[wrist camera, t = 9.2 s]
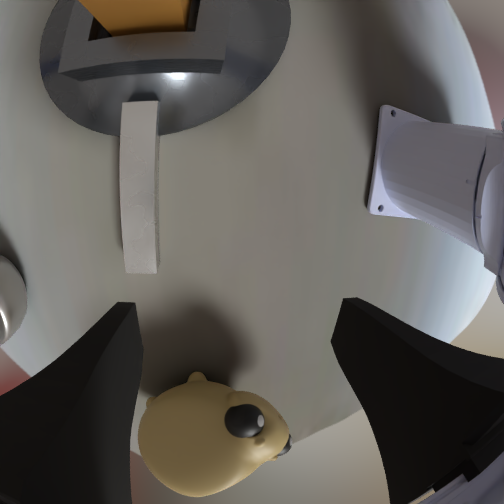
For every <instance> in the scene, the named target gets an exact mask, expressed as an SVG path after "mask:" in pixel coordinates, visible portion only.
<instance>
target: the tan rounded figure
mask: <svg viewBox="0 0 504 504" xmlns="http://www.w3.org/2000/svg"><path fill="white" fill-rule="evenodd" d="M146 406H147V409H146V410H145V412H144V414H143V416H142V418H141V421H140V424H139V429H138V444H139V449H140V453H141V455H142V458H143V460H144V462H145V463H146V465H147V467H148V468H149V469H150V471H151V472H152V473H153V475H154V476H155V477H156V478H157V479H158V480H159V481H161V482H162V483H163V484H164V485H165V486H167V487H168V488H170V489H172V490H174V491H175V492H178V493H180V494H183V495H186V496H191V497H201V496H207V495H210V494H214V493H217V492H219V491H222V490H224V489H226V488H228V487H230V486H232V485H234V484H236V483H238V482H239V481H241V480H243V479H244V478H246V477H247V476H248V475H250V474H251V473H252V472H253V471H254V470H255V469H257V468H258V467H259V466H260V465H261V464H263V463H264V462H265V461H267V460H270V461H274V460H276V459H277V458H278V457H277V456H281V455H283V454H285V453H287V452H288V451H289V450H290V448H291V446H292V438H291V435H290V434H289V428H288V426H287V424H286V422H285V420H284V419H283V417H282V416H281V415H280V413H279V412H278V411H277V410H276V409H275V408H274V407H273V406H272V405H271V404H270V403H269V402H268V401H266V400H265V399H263V398H262V397H260V396H258V395H256V394H254V393H250V392H245V391H235V390H234V389H232V388H230V387H228V386H226V385H223V384H220V383H216V382H210V381H207V379H206V377H205V375H204V374H203V373H201V372H193V373H192V374H191V375H190V376H189V378H188V381H187V383H185V384H182V385H179V386H176V387H173V388H171V389H169V390H167V391H165V392H163V393H162V394H160V395H159V396H158V397H150V398H149V399H148V400H147V402H146Z"/></svg>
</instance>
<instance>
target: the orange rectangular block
mask: <svg viewBox="0 0 504 504" xmlns="http://www.w3.org/2000/svg"><path fill="white" fill-rule="evenodd" d="M78 1H79V2H80V3H81V4H82V5H83V6H84V7H85V8H86V9H87V10H88V11H89V12H90V13H91V14H92V15H93V16H94V17H95V18H96V19H97V20H98V21H99V22H100V24H101V25H102V26H103V27H104V28H105V29H106V30H107V31H108V32H109V33H110V34H111V35H112V36H113V37H116V36H124V35H133V34H143V33H158V32H187V27H188V21H189V15H190V9H191V3H192V0H78Z"/></svg>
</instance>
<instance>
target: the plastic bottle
mask: <svg viewBox="0 0 504 504" xmlns="http://www.w3.org/2000/svg"><path fill="white" fill-rule="evenodd" d="M26 311H27V292H26V287H25V284H24V281H23V279H22V277H21V275H20V273H19V271H18V270H17V268H16V267H15V266H14V265H13V263H12V262H11V261H9V260H8V259H7V258H5V257H4V256H2V255H0V346H1V345H2V344H4V343H5V342H6V341H7V340H8V339H9V338H10V337H11V336H12V335H13V334H14V333H15V332H16V331H17V330H18V329H19V328H20V326H21V323H22V321H23V319H24V317H25V314H26Z"/></svg>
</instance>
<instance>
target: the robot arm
mask: <svg viewBox="0 0 504 504" xmlns="http://www.w3.org/2000/svg"><path fill="white" fill-rule="evenodd" d="M391 111H392V112H393V116H392V115H391ZM501 125H502V129H503V131H500V130H495V129H489V128H482V127H475V126H468V125H459V124H449V123H437V122H431V121H429V120H426V119H424V118H421V117H419V116H416V115H414V114H411V113H409V112H406V111H404V110H401V109H398V108H395V107H393V106H390V105H382V106H381V107H380V113H379V124H378V135H377V144H376V152H375V160H374V167H373V174H372V181H371V187H370V194H369V199H368V205H367V209H368V211H369V212H370V213H372V214H375V215H386V216H395V217H405V218H414V219H420V220H422V221H424V222H426V223H428V224H430V225H432V226H434V227H436V228H438V229H440V230H441V231H443V232H445V233H447V234H449V235H451V236H453V237H454V238H456V239H458V240H460V241H462V242H463V243H465V244H467V245H469V246H471V247H472V248H474V249H476V250H477V251H479V252H481V253H482V254H484V267H485V268H486V269H488V270H489V271H491V272H492V273H494V274H495V275H497V277H496V286H497V292H498V295H499V297H500V299H501V301H502V302H503V304H504V118H503V119H502V121H501ZM380 205H381V208H380V209H379V210H378V207H379V206H380ZM331 344H332V347H333V350H334V353H335V355H336V358H337V360H338V363H339V365H340V367H341V369H342V371H343V372H344V374H345V376H346V378H347V380H348V382H349V383H350V385H351V387H352V389H353V391H354V392H355V394H356V396H357V398H358V400H359V401H360V403H361V405H362V407H363V409H364V411H365V413H366V415H367V417H368V420H369V422H370V425H371V428H372V430H373V433H374V436H375V439H376V442H377V445H378V448H379V451H380V454H381V458H382V462H383V466H384V470H385V474H386V479H387V484H388V490H389V498H390V504H410V503H412V502H414V501H415V500H417V499H419V498H420V497H422V496H424V495H425V494H427V493H429V492H430V491H432V490H433V489H434V491H435V493H434V494H432V495H431V496H429V497H428V498H426V499H424V500H423V501H421V502H420V503H418V504H504V359H502V358H496V357H491V356H486V355H482V354H478V353H474V352H471V351H467V350H465V349H461V348H459V347H456V346H453V345H451V344H448V343H446V342H443V341H441V340H438V339H436V338H434V337H432V336H430V335H428V334H426V333H424V332H422V331H420V330H418V329H416V328H414V327H412V326H410V325H408V324H406V323H404V322H403V321H401V320H399V319H397V318H396V317H394V316H392V315H390V314H388V313H387V312H385V311H383V310H381V309H380V308H378V307H376V306H374V305H372V304H370V303H368V302H366V301H364V300H362V299H360V298H357V297H356V298H343V301H342V305H341V308H340V312H339V315H338V319H337V322H336V326H335V329H334V332H333V335H332V339H331ZM142 361H143V345H142V340H141V334H140V329H139V323H138V317H137V311H136V305H135V303H132V302H117V303H116V304H115V305H114V306H113V307H112V308H111V309H110V310H109V311H108V312H107V313H106V314H105V315H104V316H103V317H102V318H101V319H100V320H99V321H98V322H97V323H96V324H95V325H93V326H92V327H91V328H90V329H89V330H88V331H87V332H86V333H85V334H84V335H83V336H82V337H81V338H80V339H79V340H78V341H76V342H75V343H74V344H73V345H72V346H71V347H70V348H69V349H68V350H66V351H65V352H64V353H63V354H62V355H61V356H60V357H58V358H57V359H56V360H55V361H53V362H52V363H51V364H49V365H48V366H47V367H45V368H44V369H43V370H41V371H40V372H39V373H37V374H36V375H34V376H33V377H31V378H30V379H28V380H26V381H25V382H23V383H22V384H20V385H19V386H17V387H15V388H14V389H12V390H10V391H8V392H7V393H5V394H3V395H1V396H0V504H132V499H131V486H130V436H131V427H132V421H133V416H134V410H135V405H136V399H137V394H138V389H139V384H140V379H141V372H142Z"/></svg>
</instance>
